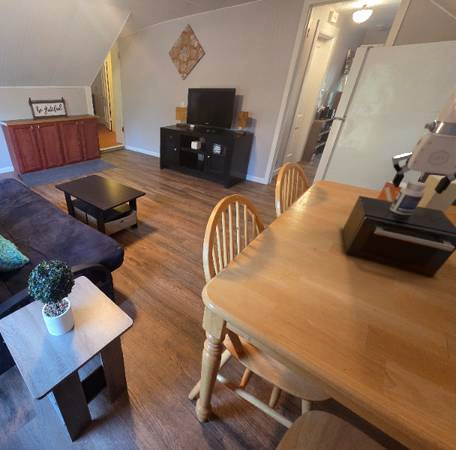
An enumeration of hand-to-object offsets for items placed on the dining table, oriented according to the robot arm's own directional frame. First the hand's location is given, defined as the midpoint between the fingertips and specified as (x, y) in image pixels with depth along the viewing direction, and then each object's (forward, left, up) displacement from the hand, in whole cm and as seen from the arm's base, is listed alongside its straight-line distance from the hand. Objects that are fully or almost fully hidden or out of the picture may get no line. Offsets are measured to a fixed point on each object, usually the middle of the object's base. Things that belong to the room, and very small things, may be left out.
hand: (415, 188), depth 74 cm
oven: (-1, 0, -23) cm, 23 cm away
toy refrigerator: (-15, -24, -23) cm, 36 cm away
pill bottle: (0, 0, -8) cm, 8 cm away
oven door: (-1, +11, -23) cm, 26 cm away
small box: (-8, -37, -23) cm, 44 cm away
